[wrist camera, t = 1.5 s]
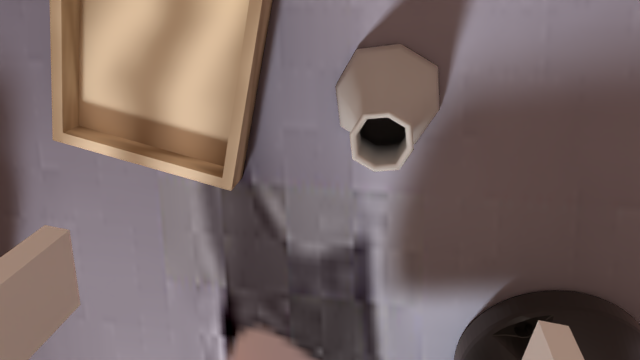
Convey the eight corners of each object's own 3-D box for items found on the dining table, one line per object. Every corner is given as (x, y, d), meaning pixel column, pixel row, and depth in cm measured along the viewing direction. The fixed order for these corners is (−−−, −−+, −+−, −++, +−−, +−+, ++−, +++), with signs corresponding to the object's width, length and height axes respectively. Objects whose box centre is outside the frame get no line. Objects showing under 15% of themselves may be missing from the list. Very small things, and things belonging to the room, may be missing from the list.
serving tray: (274, -13, 30) (264, -13, 28) (242, 177, 36) (231, 190, 33) (74, -64, 31) (48, -68, 28) (74, 130, 36) (52, 140, 34)
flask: (346, 31, 30) (323, 52, 21) (455, 54, 30) (479, 86, 21) (326, 134, 33) (297, 190, 24) (424, 156, 33) (433, 223, 24)
